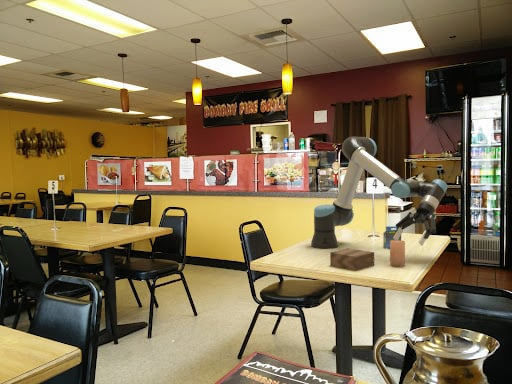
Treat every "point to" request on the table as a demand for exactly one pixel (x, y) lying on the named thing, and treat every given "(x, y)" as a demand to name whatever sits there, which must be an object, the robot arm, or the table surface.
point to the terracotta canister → (397, 253)
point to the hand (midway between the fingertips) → (407, 241)
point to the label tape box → (389, 236)
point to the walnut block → (352, 259)
